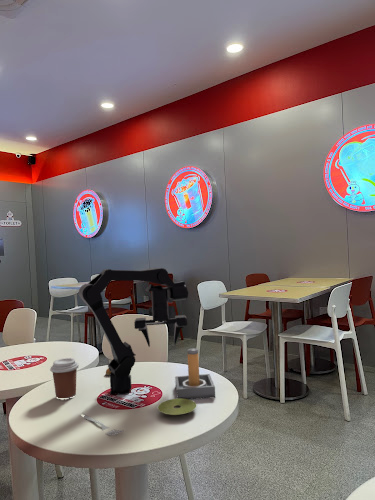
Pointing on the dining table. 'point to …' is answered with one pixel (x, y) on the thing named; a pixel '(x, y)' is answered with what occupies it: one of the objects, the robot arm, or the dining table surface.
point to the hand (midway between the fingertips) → (162, 345)
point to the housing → (195, 387)
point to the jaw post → (193, 367)
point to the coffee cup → (64, 377)
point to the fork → (103, 426)
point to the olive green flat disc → (177, 406)
